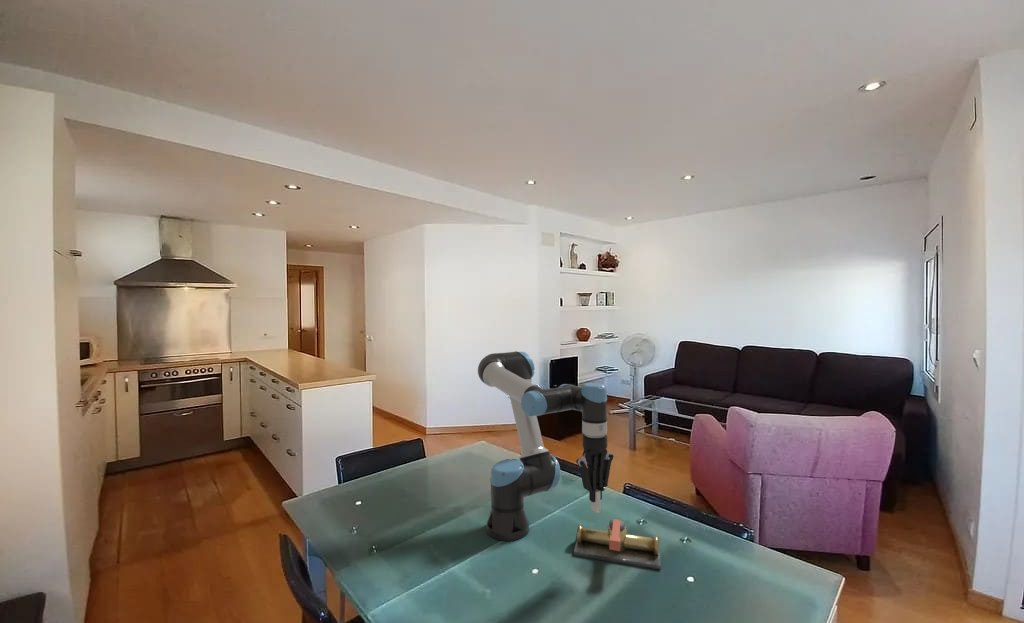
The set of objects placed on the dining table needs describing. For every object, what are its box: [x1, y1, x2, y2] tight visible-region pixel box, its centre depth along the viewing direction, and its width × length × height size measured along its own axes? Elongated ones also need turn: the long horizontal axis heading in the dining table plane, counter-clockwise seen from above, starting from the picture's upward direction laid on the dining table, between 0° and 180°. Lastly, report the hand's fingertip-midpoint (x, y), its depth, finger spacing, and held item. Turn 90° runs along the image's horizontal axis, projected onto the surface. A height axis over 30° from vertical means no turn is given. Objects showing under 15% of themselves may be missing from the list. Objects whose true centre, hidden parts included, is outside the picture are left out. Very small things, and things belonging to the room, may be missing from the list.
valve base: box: [573, 524, 662, 571], centre depth 133 cm, size 26×14×7 cm, turn 73°
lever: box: [608, 518, 626, 551], centre depth 128 cm, size 5×16×3 cm, turn 163°
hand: (595, 511), depth 126 cm, fingers closed
